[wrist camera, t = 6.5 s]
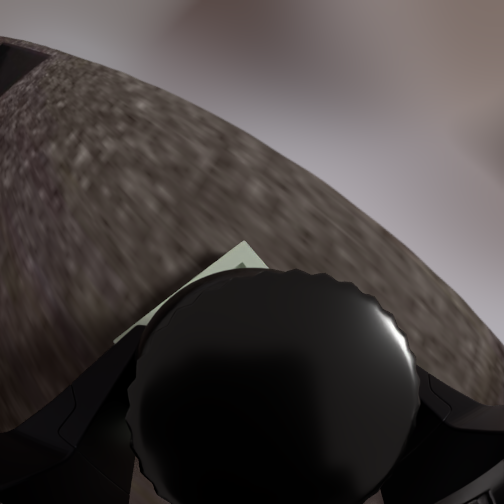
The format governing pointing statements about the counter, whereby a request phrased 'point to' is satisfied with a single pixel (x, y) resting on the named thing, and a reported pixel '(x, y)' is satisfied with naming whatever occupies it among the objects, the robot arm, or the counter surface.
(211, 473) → the supplement bottle
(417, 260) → the counter surface
